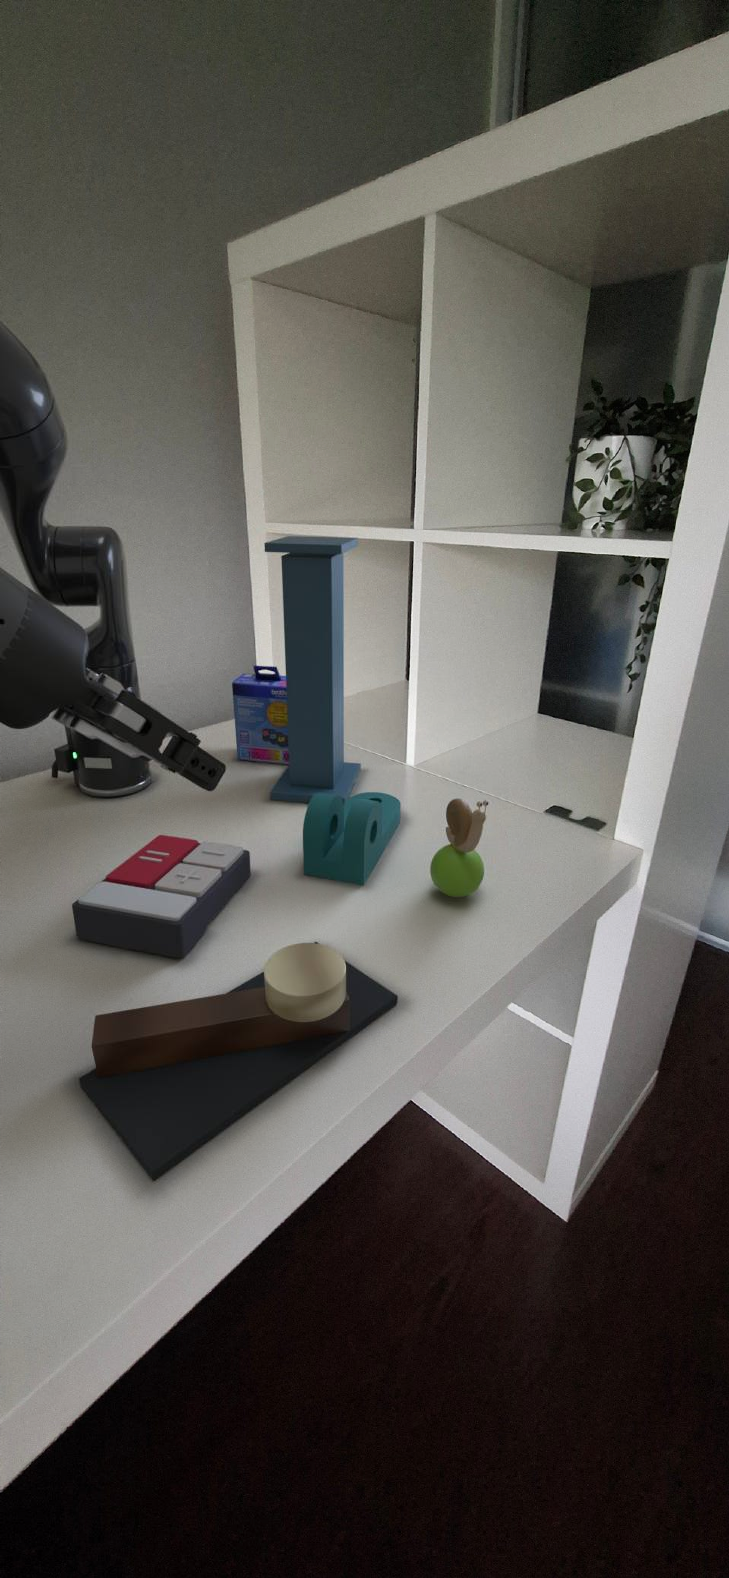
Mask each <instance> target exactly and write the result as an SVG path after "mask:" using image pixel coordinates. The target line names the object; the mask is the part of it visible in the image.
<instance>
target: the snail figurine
mask: <svg viewBox="0 0 729 1578" xmlns="http://www.w3.org/2000/svg"><path fill="white" fill-rule="evenodd" d="M476 806H477V809H475V810H474V811H472V809H471V807H470V805H469V804H468V803H467V802H466V801H465V800H463V799H462V798H453V799H451V800H450V801H449V802H448V803H447V806H446V810H445V818H446V823H447V826H445V834H446V839H447V840H448V842H449V844H446V845H444V846H442V847H441V848H440V849H438V850H437V852H435V854H434V855H433V857H432V858H431V859H432V860H431V861H430V866H429V873H430V878H431V880H432V881H431V882H432V883H433V884H434V886H435V887H436V889H437V890H439V892H441V893H443V894H444V895H447V896H448V897H454V898H462V897H466V896H469V895H471V894H473V893H474V892H476V890H478V889H479V887H480V886H481V884H482V882H483V879H484V876H485V865H484V861H483V859H482V857H481V855H480V854H479V852H477V850H475V849H476V848H477V847H478V845H479V843H480V840H481V837H482V833H483V829H484V824H485V822H486V819H487V815H486V811H487V810H486V809H487V806H489V800H486V799H485V800H483V801H481V800H480V801H477V802H476ZM482 806H484V810H482V809H481V808H482Z"/></svg>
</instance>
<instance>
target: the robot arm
mask: <svg viewBox="0 0 729 1578" xmlns="http://www.w3.org/2000/svg"><path fill="white" fill-rule="evenodd" d="M68 452H69V438H68V433H67V430H66V427H65V424H64V420H63V418H62V414H61V413H60V410H59V407H58V404H57V401H56V399H55V396H54V393H53V390H52V387H51V385H50V382H49V379H48V378H47V375H46V373H45V371H44V369H43V368H42V366H41V365H40V363H39V361H38V360H37V359H36V357H35V356H34V355H33V354H32V353H31V351H30V350H29V349H28V347H26V346H25V345H24V343H23V342H22V341H21V340H20V339H19V338H18V337H17V336H16V335H15V334H14V333H13V332H12V331H11V329H10V328H9V327H7V325H5V323H4V322H3V321H1V320H0V515H1V518H2V519H3V521H4V524H5V526H6V529H7V530H8V533H9V535H10V538H11V540H12V543H13V545H14V547H15V550H16V552H17V555H18V557H19V561H20V562H21V564H22V567H23V569H24V572H25V574H26V576H27V578H28V581H29V583H30V585H31V587H32V589H31V588H30V587H28V586H27V585H26V584H24V583H23V582H22V581H20V580H19V579H17V578H16V577H15V576H13V575H12V574H11V573H9V572H7V571H6V570H5V569H3V568H2V567H1V566H0V724H2V725H4V726H5V727H8V728H9V729H14V730H25V729H29V728H32V727H34V726H36V725H38V724H40V723H42V722H43V721H45V720H46V719H48V718H49V717H50V718H51V719H52V720H54V721H55V722H56V723H59V724H61V725H63V726H64V731H65V737H66V742H67V743H65V744H63V745H60V746H58V747H56V748H54V749H53V751H54V756H55V760H54V761H53V763H52V765H51V776H50V777H51V778H52V779H58V778H59V772H62V773H65V774H70V773H72V775H73V780H74V785H75V786H76V787H79V789H80V791H81V792H82V793H84V795H85V794H86V795H88V796H92V797H97V798H113V797H121V796H126V795H131V794H134V793H137V792H139V791H141V790H144V789H145V788H147V787H148V786H149V785H150V784H151V783H152V780H153V778H152V771H151V768H150V762H151V761H153V762H155V763H156V764H159V765H160V768H161V769H163V770H165V771H167V772H168V771H169V772H170V773H173V774H178V775H179V776H181V777H182V778H185V779H186V780H188V781H189V782H191V783H192V784H194V785H196V786H197V787H199V788H201V789H202V790H204V791H206V792H213V791H215V789H216V788H217V787H218V785H219V783H220V781H221V780H222V778H223V776H224V775H225V773H226V770H227V766H226V764H225V763H224V762H222V761H221V760H220V759H218V758H216V757H215V756H214V755H212V754H210V753H209V752H208V751H206V750H205V749H203V748H202V747H200V746H199V745H200V744H201V742H202V740H201V739H199V737H198V735H197V734H195V733H193V732H191V731H190V732H189V731H187V730H186V729H185V728H183V727H181V726H180V725H179V724H177V723H176V722H174V721H172V720H171V719H170V718H168V717H167V716H165V715H164V714H163V713H161V711H160V710H159V709H158V708H156V707H154V706H153V705H151V704H149V703H148V702H146V701H144V700H142V697H141V689H140V681H139V675H138V668H137V667H138V666H137V659H136V652H135V645H134V643H135V642H134V634H133V626H132V617H131V607H130V606H131V605H130V595H129V582H128V581H129V580H128V578H129V577H128V567H127V558H126V557H127V556H126V552H125V548H124V544H123V542H122V538H121V537H120V535H119V534H118V532H117V530H115V529H114V528H112V527H109V526H102V525H101V526H100V525H99V526H97V525H96V526H95V525H94V526H93V525H90V526H89V525H84V526H83V525H79V526H78V525H76V526H75V525H74V526H73V525H59V526H58V525H52V524H50V523H49V522H48V521H47V519H46V517H45V514H46V509H47V506H48V502H49V500H50V498H51V496H52V495H53V492H54V490H55V489H56V486H57V484H58V482H59V481H60V478H61V475H62V473H63V471H64V469H65V465H66V462H67V457H68ZM57 607H62V608H64V607H65V608H70V607H71V608H75V607H76V608H77V607H79V608H81V607H82V608H84V607H85V608H86V607H87V608H88V607H99V618H98V619H97V620H96V621H95V622H93V623H92V624H91V625H89V626H87V627H85V628H84V627H83V626H82V625H81V624H79V623H78V622H76V621H75V620H74V619H72V618H71V617H70V616H68V614H66V613H65V612H63V611H61V610H60V609H58V608H57ZM50 715H51V716H50ZM167 735H168V736H169V737H170V740H169V741H168V743H167V745H166V746H165V748H164V749H163V751H162V752H161V751H160V748H161V747H162V745H163V742H164V741H165V738H166V736H167Z"/></svg>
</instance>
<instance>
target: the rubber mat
mask: <svg viewBox="0 0 729 1578" xmlns="http://www.w3.org/2000/svg"><path fill="white" fill-rule="evenodd" d="M313 943H316V944H320V943H319V942H317V941H314V942H313ZM344 961H345V964H346V992H347V995H348V997H349V1031H345V1032H340V1033H335V1034H329V1035H324V1036H319V1037H314V1038H308V1039H303V1040H298V1041H292V1042H287V1043H282V1044H276V1045H271V1046H266V1047H260V1048H255V1049H250V1050H245V1051H239V1052H234V1053H229V1054H223V1055H218V1056H213V1057H207V1058H202V1059H197V1060H191V1061H186V1062H181V1063H176V1064H170V1065H165V1066H160V1067H154V1068H149V1069H144V1070H138V1071H133V1072H128V1073H123V1074H117V1075H112V1076H107V1077H101V1078H98V1075H97V1070H96V1067H95V1068H94V1069H92V1070H91V1071H89V1072H86V1073H85V1074H83V1075H81V1076H79V1077H78V1082H79V1086H80V1088H81V1089H82V1091H84V1093H85V1094H86V1096H87V1097H88V1098H89V1099H90V1100H91V1102H92V1103H93V1105H94V1106H95V1107H96V1108H97V1109H98V1111H99V1112H100V1114H101V1115H102V1116H103V1117H104V1118H105V1120H106V1121H107V1123H108V1124H109V1125H110V1126H111V1128H112V1129H113V1130H114V1131H115V1133H116V1134H117V1135H118V1136H119V1138H120V1139H121V1140H122V1142H123V1143H124V1145H125V1146H126V1147H127V1149H128V1150H129V1151H130V1152H131V1153H132V1155H133V1156H134V1158H136V1160H137V1161H138V1162H139V1164H140V1165H141V1166H142V1168H143V1169H144V1171H145V1172H146V1173H147V1174H148V1175H149V1177H150V1179H152V1181H155V1180H158V1178H160V1177H161V1176H162V1175H164V1174H165V1173H167V1172H168V1171H169V1170H171V1169H172V1168H173V1167H174V1166H176V1165H178V1164H179V1163H180V1162H181V1161H183V1160H184V1159H185V1158H187V1157H188V1156H190V1155H191V1154H193V1153H194V1152H195V1151H197V1150H198V1149H199V1148H201V1147H202V1146H203V1145H205V1144H206V1143H209V1141H210V1140H212V1139H213V1138H215V1137H216V1136H217V1135H219V1134H220V1133H222V1132H223V1131H224V1130H226V1129H227V1128H229V1126H231V1125H233V1123H235V1122H236V1121H238V1120H239V1119H241V1118H242V1117H244V1116H245V1115H246V1114H247V1113H249V1112H251V1110H253V1109H255V1108H256V1107H257V1106H258V1105H260V1104H261V1103H262V1102H264V1101H265V1100H267V1099H268V1098H270V1097H271V1096H272V1095H274V1094H276V1092H278V1091H279V1090H281V1089H282V1088H283V1087H285V1086H286V1085H288V1084H289V1083H290V1082H291V1081H293V1080H294V1079H296V1078H297V1077H298V1076H300V1075H302V1073H304V1072H305V1071H307V1070H308V1069H309V1068H311V1067H312V1066H313V1065H315V1064H316V1063H318V1062H319V1061H321V1060H322V1059H323V1058H324V1057H326V1056H327V1055H329V1054H330V1053H331V1052H332V1051H334V1050H335V1049H337V1048H338V1047H340V1046H341V1045H342V1044H343V1043H345V1042H347V1041H348V1040H349V1039H350V1038H352V1037H353V1036H355V1035H356V1034H357V1033H358V1032H360V1031H362V1030H363V1029H364V1028H366V1027H367V1026H368V1025H370V1024H371V1023H373V1022H374V1021H375V1020H377V1019H378V1018H379V1017H381V1016H382V1015H384V1014H385V1013H386V1012H388V1011H389V1010H390V1009H392V1008H393V1007H394V1006H396V1005H398V998H399V997H398V996H399V995H397V994H396V993H394V992H393V991H391V990H390V989H388V988H387V987H385V986H384V985H382V984H380V982H378V981H376V980H375V979H373V978H371V977H370V976H368V975H367V974H366V973H364V972H362V971H361V970H359V969H358V968H357V967H355V966H354V965H352V964H351V963H349V962H348V961H346V960H345V959H344ZM262 987H265V982H264V971H262V972H261V973H258V974H257V975H255V976H254V977H251V978H250V979H248V980H247V981H245V982H243V983H241V984H240V985H237V986H236V987H234V988H233V989H231V990H229V991H227V992H225V994H227V993H233V992H238V991H244V990H250V989H256V988H262Z"/></svg>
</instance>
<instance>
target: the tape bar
mask: <svg viewBox="0 0 729 1578" xmlns="http://www.w3.org/2000/svg"><path fill="white" fill-rule="evenodd" d="M344 960H345V959H344V958H343V956H342V955H341V953H339V952H338V951H337V950H335V949H334V948H332V947H330V946H328V945H325V944H321V943H319V944H316V943H314V942H300V943H294V944H293V943H292V944H290V945H287V946H285V947H282V948H280V949H279V950H277V951H275V952H274V953H272V955H270V957H269V958H268V959H267V961H266V962H265V964H264V968H263V972H264V982H265V987H262V988H256V989H250V990H244V991H238V992H233V993H227V992H226V993H227V994H226V993H221V994H215V995H209V996H204V997H198V998H192V999H186V1000H179V1001H173V1002H168V1003H162V1004H155V1005H148V1006H144V1007H137V1008H131V1009H126V1010H119V1011H113V1012H108V1013H102V1014H96V1015H95V1016H94V1021H93V1031H92V1039H91V1051H92V1055H93V1060H94V1061H93V1062H94V1065H95V1068H96V1070H97V1075H98V1078H101V1077H107V1076H112V1075H117V1074H123V1073H128V1072H133V1071H138V1070H144V1069H149V1068H154V1067H160V1066H165V1065H170V1064H176V1063H181V1062H186V1061H191V1060H197V1059H202V1058H207V1057H213V1056H218V1055H223V1054H229V1053H234V1052H239V1051H245V1050H250V1049H255V1048H260V1047H266V1046H271V1045H276V1044H282V1043H287V1042H292V1041H298V1040H303V1039H308V1038H314V1037H319V1036H324V1035H329V1034H335V1033H340V1032H345V1031H349V997H348V995H347V992H346V964H345V961H346V960H345V961H344Z"/></svg>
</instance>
